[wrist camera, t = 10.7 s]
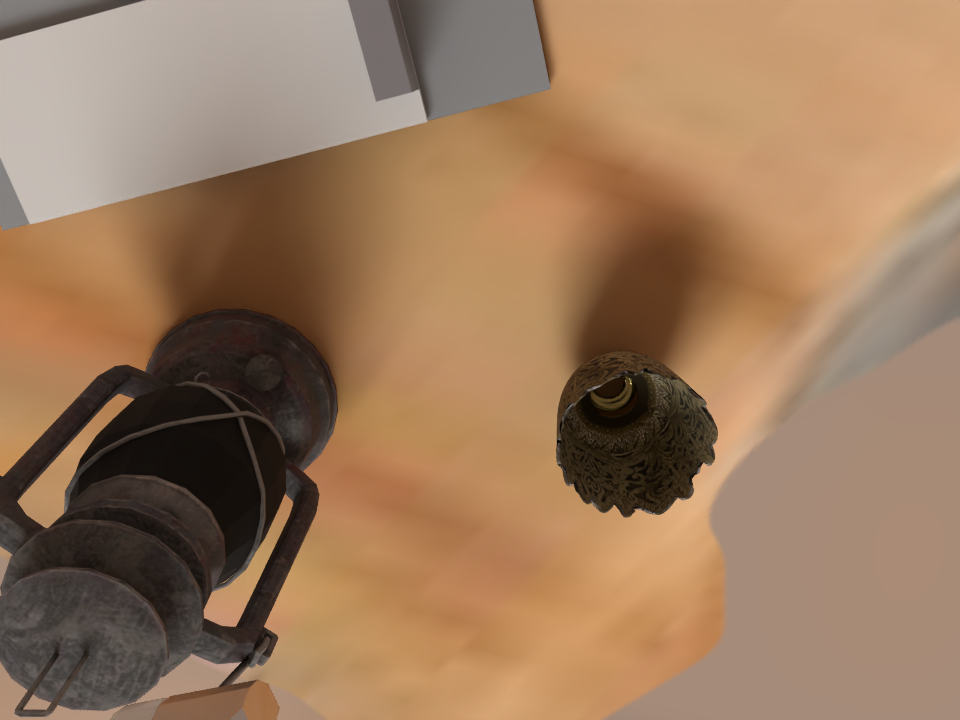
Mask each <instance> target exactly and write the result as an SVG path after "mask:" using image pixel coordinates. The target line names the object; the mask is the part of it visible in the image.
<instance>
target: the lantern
mask: <svg viewBox="0 0 960 720" xmlns="http://www.w3.org/2000/svg"><path fill="white" fill-rule="evenodd" d="M117 394H123V395H125V396H128V397H131V398H134V400H133V401H132V402H131V403H130V404H129V405H128V406H127V407H126V408H125V409H124V410H122V411H121V412H120V413H119V414H118V415H117V416H116V417H115V418H114V419H113V420H112V421H111V422H110V423H109V424H108V425H107V426H106V427H105V428H104V429H103V430H102V431H101V432H100V433H99V434H98V435H97V436H96V437H95V439H94V440H93V441H92V443H91V444H90V446H89V447H88V449H87V450H86V452H85V453H84V454H83V456H82V457H81V459H80V461H79V464H78V467H77V470H76V472H75V474H74V476H73V478H72V480H71V482H70V484H69V485H68V487H67V489H66V491H65V506H64V514H63V515H62V516H61V517H60V518H59V519H57V520H56V521H55V522H54V523H53V524H52V525H51V526H50V527H49V528H45V527H43V526H42V525H40V524H39V523H37V522H36V521H34V520H33V519H31V518H30V517H28V516H27V515H26V514H25V512H24V511H23V509H22V508H21V507H20V505H19V504H18V502H17V501H18V500H19V499H20V497H21V496H22V495H23V494H24V493H25V492H26V491H27V489H28V488H29V487H30V486H31V485H32V484H33V483H34V482H35V481H36V480H37V479H38V477H39V476H40V475H41V474H42V473H43V472H44V471H45V470H46V469H47V468H48V467H49V465H50V464H51V463H52V462H53V461H54V460H55V459H56V458H57V457H58V456H59V455H60V453H61V452H62V451H63V450H64V449H65V448H66V447H67V446H68V445H69V444H70V442H71V441H72V440H73V439H74V438H75V437H76V436H77V435H78V434H79V433H80V432H81V430H82V429H83V428H84V427H85V426H86V425H87V424H88V423H89V422H90V421H91V420H92V418H93V417H94V416H95V415H96V414H97V413H98V412H99V411H100V410H101V409H102V408H103V406H104V405H105V404H106V403H107V402H109V401H110V400H111V399H112V398H113V397H115V396H116V395H117ZM337 412H338V409H337V394H336V387H335V384H334V381H333V378H332V375H331V373H330V370H329V367H328V365H327V363H326V362H325V360H324V359H323V358H322V356H321V355H320V353H319V352H318V350H317V349H316V347H315V346H314V345H313V344H312V343H311V342H310V341H309V340H308V339H306V338H305V337H304V336H303V335H302V334H301V333H300V332H298V331H297V330H296V329H295V328H294V327H292V326H290V325H288V324H286V323H284V322H282V321H280V320H278V319H276V318H274V317H272V316H270V315H266V314H262V313H258V312H254V311H250V310H246V309H218V310H214V311H211V312H207V313H203V314H200V315H196V316H193V317H192V318H190V319H188V320H187V321H185V322H183V323H182V324H180V325H178V326H176V327H175V328H173V329H172V330H171V331H170V332H169V333H168V334H167V336H166V337H165V338H164V339H163V340H162V341H161V342H160V343H159V344H158V345H157V347H156V348H155V350H154V352H153V355H152V357H151V359H150V361H149V363H148V365H147V367H146V371H145V372H144V371H142V370H139V369H137V368H134V367H132V366H129V365H121V366H114V367H113V368H111V369H109V370H108V371H106V372H104V373H103V374H101V375H99V376H97V378H96V379H95V380H94V381H93V382H92V383H91V384H90V385H89V386H88V387H87V388H86V389H85V390H84V391H83V392H82V393H81V395H80V396H79V397H78V398H77V399H76V400H75V401H74V402H73V403H72V404H71V405H70V406H69V407H68V408H67V409H66V410H65V411H64V413H63V414H62V415H61V416H60V417H59V418H58V419H57V420H56V421H55V422H54V423H53V424H52V425H51V426H50V427H49V428H48V430H47V431H46V432H45V433H44V434H43V435H42V436H41V437H40V438H39V439H38V440H37V441H36V442H35V443H34V444H33V445H32V447H31V448H30V449H29V450H28V451H27V452H26V453H25V454H24V455H23V456H22V457H21V458H20V459H19V460H18V461H17V462H16V464H15V465H14V466H13V467H12V468H11V469H10V470H9V471H8V472H7V473H6V474H5V475H4V476H3V477H2V476H0V546H1V547H2V548H4V549H5V550H7V551H8V552H10V553H11V554H13V555H12V556H11V558H10V561H9V564H8V567H7V570H6V573H5V575H4V578H3V581H2V584H1V587H0V588H1V594H2V596H0V662H1V664H2V665H3V667H4V668H5V670H6V671H7V672H8V674H9V675H10V677H11V678H12V679H13V680H14V681H16V682H17V683H18V684H20V685H21V686H23V687H24V688H25V689H27V690H28V691H27V693H26V694H25V696H24V697H23V699H22V700H21V702H20V703H19V704H18V706H17V707H16V709H15V714H16V715H18V716H20V717H47V716H49V715H50V714H51V713H53V711H54V710H55V708H56V707H57V705H60V706H63V707H66V708H69V709H72V710H97V711H106V710H109V709H113V708H117V707H120V706H123V705H127V704H130V703H133V702H136V701H137V700H138V699H139V698H141V697H142V696H143V695H144V694H145V693H147V692H148V691H149V690H151V689H152V688H153V687H154V686H155V685H157V683H158V681H159V679H160V678H161V677H164V676H166V675H167V674H168V673H169V672H171V671H172V670H173V669H174V668H176V667H177V666H178V665H179V664H181V663H182V662H183V661H184V660H185V659H187V658H188V657H189V656H190V654H194V655H196V656H199V657H201V658H203V659H206V660H208V661H210V662H213V663H215V664H225V663H239V662H241V663H240V664H239V665H238V666H237V668H236V669H235V670H234V671H233V672H232V673H231V674H230V675H229V676H228V677H227V678H226V679H225V681H223V683H222V684H221V685H220V686H219V687H222V686H227V685H231V684H232V683H233V682H234V681H235V680H236V679H237V678H238V677H239V676H240V675H241V674H242V672H243V671H244V670H245V669H246V668H247V667H250V668H253V667H255V665H256V663H257V664H258V665H260V666H262V665H264V664H265V663H266V661H267V660H268V659H269V658H270V656H271V654H272V651H273V649H274V647H275V645H276V642H277V640H278V636H277V635H276V634H274V633H273V632H271V631H270V630H268V629H266V628H265V627H264V625H265V623H266V621H267V619H268V616H269V614H270V612H271V610H272V608H273V606H274V603H275V601H276V599H277V597H278V595H279V593H280V590H281V588H282V586H283V584H284V582H285V580H286V577H287V575H288V573H289V571H290V569H291V567H292V564H293V562H294V560H295V558H296V556H297V554H298V551H299V549H300V547H301V545H302V543H303V541H304V538H305V536H306V534H307V532H308V530H309V528H310V526H311V523H312V521H313V519H314V517H315V515H316V512H317V506H318V500H319V492H318V488H317V485H316V484H315V483H314V482H313V481H312V480H311V479H310V478H309V477H308V476H307V475H306V474H305V473H304V472H303V471H304V470H305V469H306V468H307V467H308V466H309V465H310V464H311V463H312V462H313V461H314V460H315V459H316V458H317V457H318V456H319V455H320V454H321V453H322V451H323V450H324V448H325V446H326V444H327V443H328V441H329V439H330V437H331V435H332V433H333V429H334V425H335V420H336V416H337ZM285 494H286V495H287V496H288V497H289V498H290V499H291V500H292V501H293V507H292V510H291V513H290V516H289V518H288V520H287V522H286V524H285V526H284V529H283V531H282V533H281V535H280V537H279V539H278V541H277V543H276V545H275V547H274V549H273V552H272V554H271V556H270V558H269V560H268V562H267V564H266V566H265V568H264V570H263V572H262V575H261V577H260V579H259V581H258V583H257V585H256V587H255V589H254V591H253V593H252V595H251V598H250V600H249V602H248V604H247V606H246V608H245V610H244V612H243V614H242V616H241V618H240V620H239V622H238V624H237V626H236V627H228V626H220V625H218V624H216V623H214V622H212V621H209V620H207V619H205V618H204V611H203V610H204V608H205V606H206V604H207V601H208V599H209V597H210V595H211V592H213V591H216V590H218V589H221V588H224V587H226V586H228V585H229V584H231V583H232V582H233V581H234V580H235V579H236V578H237V577H238V576H239V575H240V574H242V573H243V572H244V571H245V570H246V569H247V567H248V565H249V563H250V562H251V560H252V558H253V556H254V554H255V553H256V551H257V549H258V548H259V546H260V545H261V543H262V542H263V540H264V539H265V537H266V535H267V533H268V530H269V528H270V526H271V524H272V522H273V520H274V518H275V515H276V513H277V511H278V509H279V507H280V504H281V502H282V499H283V497H284V495H285ZM234 573H235V574H234ZM233 574H234V575H233ZM232 575H233V576H232ZM228 578H229V579H228ZM227 579H228V580H227ZM226 580H227V581H226ZM224 581H226V582H224ZM222 582H224V583H222ZM220 583H222V584H220ZM218 584H219V585H218ZM216 585H217V586H216ZM33 694H34V695H35V696H36V697H38V698H39V699H42V700H45V701H48V702H51V704H50V706H49V708H48V709H47V710H23V708H24V707H25V705H26V704H27V702H28V701H29V700H30V698H31V696H32V695H33Z"/></svg>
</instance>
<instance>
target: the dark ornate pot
mask: <svg viewBox="0 0 960 720" xmlns="http://www.w3.org/2000/svg"><path fill="white" fill-rule="evenodd" d="M620 376H622V378H623V381H624V387H623V389H622V391H621V392H620V394H618V395H617V396H615V397H613V398H604V397H601V396H600V395H599V394H598V393H597V392H596V390H595V389H596V388H598V387H600V386H602V385H603V384H605V383H606V382H608V381H610V380H612V379H615V378H618V377H620ZM706 405H707V403H706V402H705V400H704V399H703V398H702V397H701V396H700V395H698V394H697V393H696V392H695V391H694V390H693V389H692V388H691V387H690V386H689V385H688V384H686V383H685V382H684V381H683V380H682V379H681V378H680V377H679V376H677V375H676V374H675V373H674V372H673V371H671V370H670V369H669V368H668V367H666V366H665V365H664V364H662V363H660V362H659V361H657V360H655V359H653V358H651V357H649V356H647V355H643V354H640V353H637V352H631V351H614V352H609V353H605V354H602V355H599V356H596V357H594V358H592V359H590V360H589V361H587V362H586V363H584V364H583V365H582V366H580V367H579V368H578V369H577V370H576V371H575V372H574V373H573V374H572V376H571V377H570V379H569V380H568V382H567V384H566V385H565V387H564V390H563V392H562V395H561V398H560V402H559V407H558V414H557V449H556V459H557V464H558V465H559V466H560V467H561V468H562V470H563V477H564V480H565V483H566V485H567V486H573V485H572V484H574V487H575V490H576V492H577V493H578V494H579V495H580V497H581V499H582V500H583V502H584V503H586V504H590V503H593V506H595V507H596V508H597V509H598V510H599V511H600V512H602V513H606V512H608V511H609V510H610V509H611V508H612V507H613V505H615V506H616V507H617V508H618V509H619V511H620V512H621V514H622V515H623V517H625V518H626V517H630V516H631V515H632V514H633V513H634V512H635V510H636V509H640V510H643V511H645V512H646V513H649V514H655V515H661V514H663V513H664V512H666V511H667V510H668V509H669V508H670V507H671V505H672V504H673V503H674V502H675V500H676V499H677V498H679V499H681V500H686V499H689V498H690V497H691V496H692V495H693V493H694V488H693V487H692V486H693V483H692V478H693V477H694V475H696V474H698V473H700V467H701V466H702V464H703V463H705V464H708V465H707V466H711V465H712V463H713V462H714V460H715V453H714V449H713V447H712V446H713V445H714V444H715V443H716V441H717V436H718V430H717V427H716V424H715V422H714V420H713V418H712V416H711V414H710V413H709V411H708V410H707V408H706ZM634 509H635V510H634ZM633 510H634V511H633Z"/></svg>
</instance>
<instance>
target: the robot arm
mask: <svg viewBox="0 0 960 720" xmlns="http://www.w3.org/2000/svg"><path fill="white" fill-rule="evenodd" d="M279 709H280V707H279V705H278V703H277V701H276V699H275V697H274V695H273V693H272V690H271V688H270V686H269V684H267V683H265V682H262V681H260V680H254V681H248V682H244V683H238V684H233V685H227V686H222V687H217V688H211V689H206V690H201V691H195V692H190V693H185V694H180V695H174V696H170V697H169V698H161V699H156V700H151V701H146V702H141V703H136V704H131V705H126V706H125V707H123V708H122V709H120V710H119V711H117V712H116V713H114V714H113V716H112V717H111V719H110V720H276V719H277V716H278V713H279Z"/></svg>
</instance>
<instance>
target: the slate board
mask: <svg viewBox="0 0 960 720" xmlns="http://www.w3.org/2000/svg"><path fill="white" fill-rule="evenodd" d="M141 1H144V0H0V40H4V39H7V38H11V37H14V36H18V35H22V34H25V33H29V32H33V31H36V30H40V29H43V28H47V27H51V26H54V25H58V24H61V23H65V22H69V21H72V20H76V19H79V18H83V17H87V16H90V15H94V14H98V13H101V12H105V11H108V10H112V9H116V8H119V7H123V6H126V5H130V4H134V3H137V2H141ZM397 1H398V5H399V9H400V13H401V17H402V21H403V24H404V28H405V32H406V36H407V40H408V44H409V48H410V52H411V55H412V59H413V63H414V67H415V71H416V75H417V79H418V83H419V86H420V90H421V94H422V98H423V102H424V106H425V110H426V114H427V117H428V121H429V120H432V119H436V118H440V117H444V116H448V115H452V114H456V113H460V112H463V111H467V110H471V109H475V108H479V107H483V106H487V105H490V104H494V103H498V102H502V101H506V100H510V99H514V98H518V97H521V96H525V95H529V94H533V93H537V92H541V91H545V90H548V89H551V88H550V83H549V78H548V74H547V69H546V64H545V59H544V54H543V49H542V44H541V39H540V34H539V29H538V24H537V19H536V15H535V10H534V5H533V0H397ZM27 224H30V223H29V221H28V219H27V217H26V214H25V212H24V210H23V208H22V205H21V203H20V201H19V199H18V196H17V194H16V192H15V190H14V187H13V185H12V183H11V181H10V178H9V176H8V174H7V172H6V170H5V167H4V165H3V163H2V161H1V158H0V225H1V227H2V229H3V230H7V229H11V228H15V227H19V226H23V225H27Z"/></svg>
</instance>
